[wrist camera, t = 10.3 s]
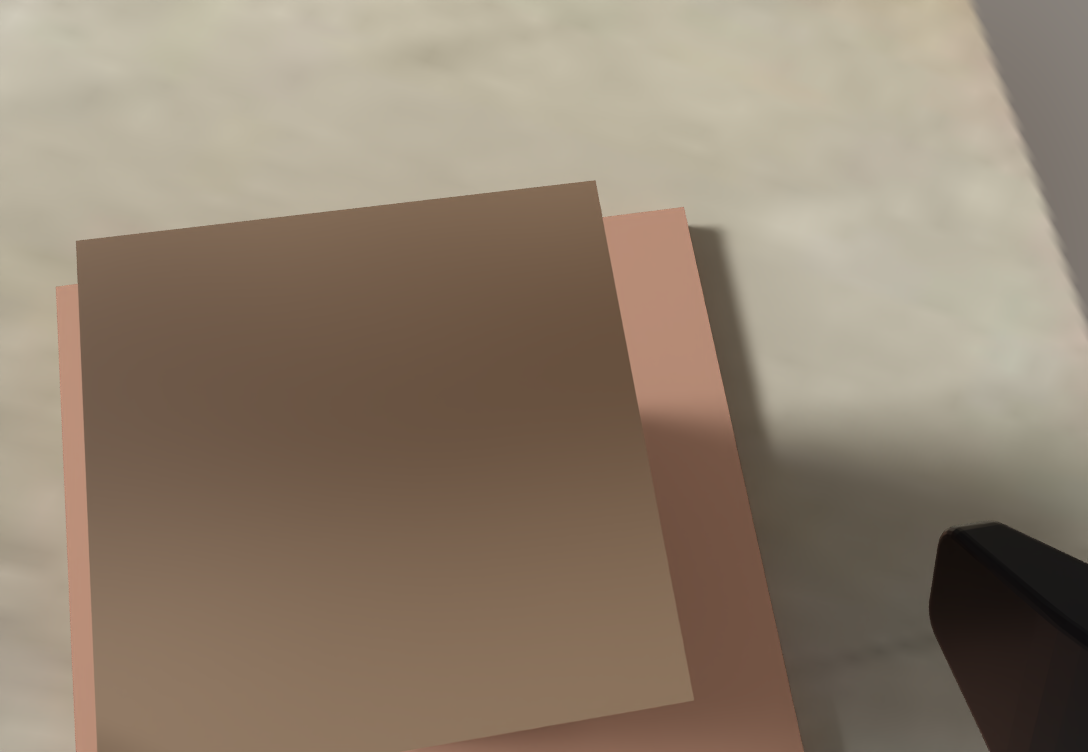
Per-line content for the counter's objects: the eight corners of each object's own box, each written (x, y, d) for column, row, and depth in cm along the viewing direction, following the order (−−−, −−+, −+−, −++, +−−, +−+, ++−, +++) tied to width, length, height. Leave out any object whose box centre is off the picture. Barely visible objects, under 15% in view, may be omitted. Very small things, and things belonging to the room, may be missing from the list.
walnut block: (585, 681, 17) (693, 700, 9) (291, 731, 17) (100, 803, 8) (539, 402, 19) (595, 181, 10) (265, 440, 18) (75, 240, 10)
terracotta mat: (811, 850, 18) (827, 858, 17) (105, 992, 16) (86, 1008, 16) (675, 223, 21) (683, 206, 20) (72, 301, 19) (55, 286, 19)
